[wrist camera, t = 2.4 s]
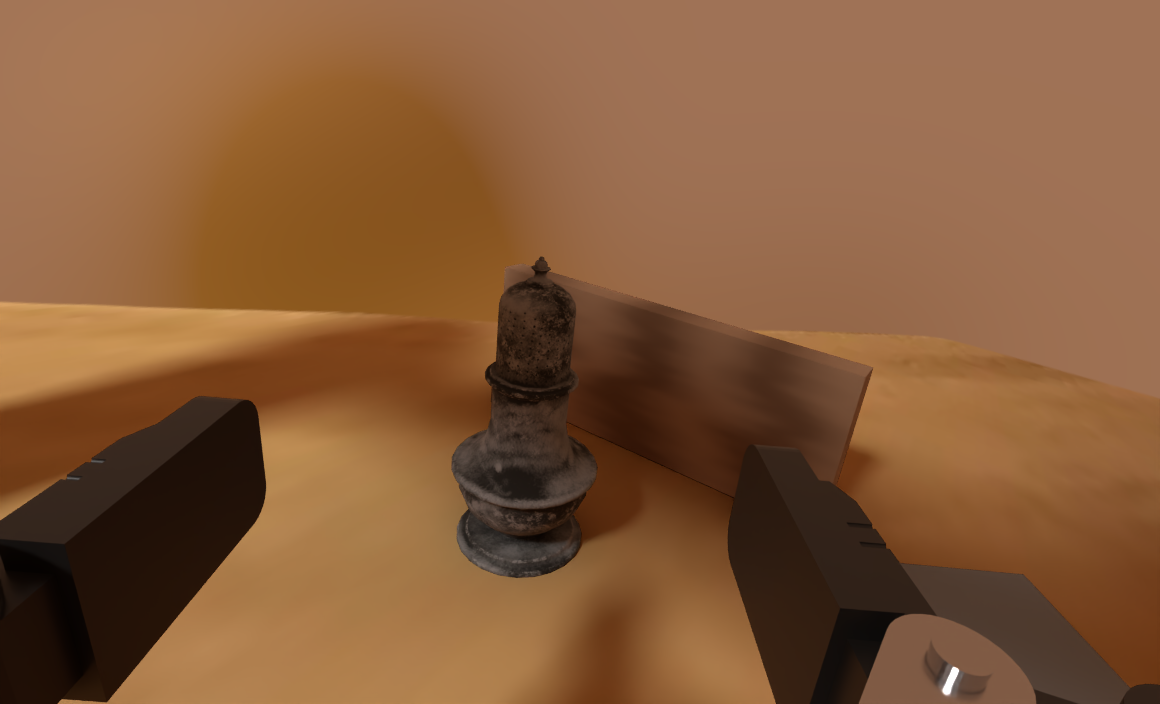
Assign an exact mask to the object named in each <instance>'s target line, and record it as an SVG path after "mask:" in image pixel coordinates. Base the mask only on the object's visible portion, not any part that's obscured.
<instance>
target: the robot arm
mask: <svg viewBox="0 0 1160 704" xmlns="http://www.w3.org/2000/svg"><path fill="white" fill-rule="evenodd" d="M265 494H266V479H265V470H264V461H263V453H262V444H261V435H260V427H259V418H258V412H257V409H256V407H255V405H254V404H253V403H252V402H251V401H249V400H241V399H230V398H218V397H206V396H198V397H195V398H194V399H192V400H190V401H189V402H188V403H186V404H185V405H183V406H182V407H181V408H179V409H178V410H176V411H175V412H173V413H172V414H171V415H169V416H168V417H166V418H165V419H164V420H162V421H161V422H159V423H158V424H155V425H153V426H150V427H148V428H145V429H143V430H141V431H138V432H136V433H133V434H131V435H128V436H126V437H123V438H121V439H119V440H118V441H116V442H115V443H113V444H112V445H110V446H109V447H108V448H106V449H105V450H103V451H102V452H100V453H99V454H97V455H96V456H94V457H93V458H92V461H91V463H88V462H86V463H84V464H83V465H81V466H80V467H78V468H77V469H75V470H74V471H72V472H71V473H69V474H68V475H67V479H66V480H62V479H61V480H59V481H58V482H56V483H55V484H53V485H52V486H50V487H49V488H47V489H46V490H44V491H43V492H42V493H40V494H39V495H37V496H36V497H34V498H33V499H31V500H30V501H28V502H27V503H25V504H24V505H22V506H21V507H20V508H18V509H17V510H15V511H14V512H12V513H11V514H9V515H8V516H6V517H5V518H3V519H2V520H0V704H58V702H59V701H60V700H61V699H68V700H82V701H96V702H107V701H108V700H109V699H110V698H111V697H112V695H113V694H114V693H115V692H116V691H117V689H118V688H119V687H120V686H121V684H122V683H123V682H124V681H125V680H126V678H127V677H128V676H129V675H130V674H131V672H132V671H133V670H134V669H135V668H136V666H137V665H138V664H139V663H140V661H141V660H142V659H143V658H144V657H145V655H146V654H147V653H148V652H149V651H150V649H151V648H152V647H153V646H154V644H155V643H156V642H157V641H158V640H159V638H160V637H161V636H162V635H163V634H164V632H165V631H166V630H167V629H168V628H169V626H170V625H171V624H172V623H173V621H174V620H175V619H176V618H177V617H178V615H179V614H180V613H181V612H182V611H183V609H184V608H185V607H186V606H187V604H188V603H189V602H190V601H191V600H192V598H193V597H194V596H195V595H196V594H197V592H198V591H199V590H200V589H201V588H202V586H203V585H204V584H205V583H206V581H207V580H208V579H209V578H210V577H211V575H212V574H213V573H214V572H215V571H216V569H217V568H218V567H219V566H220V564H221V563H222V562H223V561H224V560H225V558H226V557H227V556H228V555H229V554H230V552H231V551H232V550H233V549H234V547H235V546H236V545H237V544H238V543H239V541H240V540H241V539H242V538H243V537H244V535H245V534H246V533H247V532H248V531H249V529H250V528H251V527H252V526H253V524H254V523H255V522H256V520H257V518H258V517H259V515H260V512H261V510H262V507H263V504H264V500H265ZM728 553H729V559H730V563H731V567H732V570H733V573H734V576H735V579H736V582H737V585H738V588H739V591H740V594H741V597H742V600H743V603H744V606H745V609H746V613H747V616H748V619H749V622H750V625H751V628H752V631H753V634H754V637H755V640H756V643H757V646H758V649H759V652H760V656H761V659H762V662H763V665H764V668H765V671H766V674H767V677H768V680H769V683H770V686H771V689H772V692H773V695H774V698H775V702H776V704H1078V703H1075V702H1072V701H1069V700H1066V699H1063V698H1060V697H1056V696H1053V695H1050V694H1047V693H1044V692H1041V691H1038V690H1035V689H1033V687H1032V685H1031V683H1030V681H1029V680H1028V678H1027V676H1026V675H1025V674H1024V672H1023V671H1022V670H1021V668H1020V667H1019V666H1018V665H1017V664H1016V663H1015V662H1014V660H1013V659H1012V658H1011V657H1010V656H1009V655H1007V654H1006V653H1005V652H1004V651H1003V650H1002V649H1001V648H999V647H998V646H997V645H995V644H994V643H993V642H991V641H990V640H988V639H987V638H985V637H984V636H982V635H980V634H979V633H977V632H975V631H973V630H971V629H969V628H968V627H966V626H963V625H961V624H959V623H956V622H954V621H951V620H948V619H945V618H942V617H938V616H937V615H936V614H935V612H934V611H933V609H932V608H931V606H930V605H929V604H928V602H927V601H926V599H925V598H924V597H923V595H922V594H921V592H920V591H919V590H918V588H917V587H916V585H915V584H914V583H913V581H912V580H911V578H910V577H909V575H908V574H907V573H906V571H905V570H904V568H903V567H902V566H901V564H900V563H899V561H898V560H897V559H896V557H895V556H894V554H893V553H892V551H891V550H890V549H886V543H885V542H884V540H883V539H882V537H881V536H880V535H879V533H878V532H877V530H876V529H872V523H871V522H870V520H869V519H868V518H867V516H866V515H865V513H864V512H863V511H862V509H861V508H860V506H859V505H858V504H857V502H856V501H855V500H853V499H852V498H851V497H850V496H848V495H847V494H846V493H844V492H843V491H842V490H840V489H839V488H838V487H837V486H835V485H834V484H833V483H831V482H830V481H821V480H819V479H818V478H817V476H816V475H815V473H814V472H813V470H812V469H811V467H810V465H809V464H808V462H807V461H806V459H805V458H804V456H803V455H802V453H801V452H800V450H798V449H797V448H789V447H778V446H766V445H754V444H751V445H749V446H748V448H747V449H746V451H745V454H744V457H743V461H742V466H741V471H740V475H739V480H738V484H737V489H736V493H735V498H734V503H733V507H732V512H731V516H730V521H729V527H728ZM1120 704H1160V685H1155V684H1143V685H1137V686H1134V687H1132V688H1130V689H1129V690H1128V691H1127V692H1126V694H1125V695H1124V697H1123V699H1122V700H1121V702H1120Z"/></svg>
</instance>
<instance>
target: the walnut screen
mask: <svg viewBox="0 0 1160 704" xmlns="http://www.w3.org/2000/svg"><path fill="white" fill-rule="evenodd" d="M531 267H532V266H529V265H525V264H518V265H513V266H508V267H505V279H504V292H505V291H506V290H507V289H508V287H510V286H512V285H514V284H516V283H518V282H521V281H526V280H527V279H528V278H530V277H534V274H535V271H534V270H533V269H532V268H531ZM546 275H547V278H548V279H551V280H552V281H553V283H554V284H557V285H559V286H561V287H562V288H564V289H565V290H566V291H567V292H569V293H570V295H571V296H572V298H573V300H574V302H575V305H576V318H575V327H574V337H573V346H572V355H571V365H570V368H571V369H572V370H573V371H574V372H575V373H576V374H577V376H578V378H579V383H578V387H577V388H576V389H575V390H574V391H573V392H571V393H570V394H569V402H568V412H567V421H566V422H568V423H571V424H573V425H575V426H577V427H579V428H582V429H584V430H586V431H588V432H590V433H593V434H595V435H597V436H599V437H601V438H604V439H606V440H608V441H610V442H612V443H615V444H617V445H619V446H621V447H623V448H626V449H628V450H630V451H632V452H634V453H637V454H639V455H641V456H643V457H646V458H648V459H650V460H652V461H654V462H657V463H659V464H661V465H663V466H665V467H668V468H670V469H672V470H674V471H676V472H679V473H681V474H683V475H685V476H687V477H690V478H692V479H694V480H696V481H698V482H701V483H703V484H705V485H707V486H709V487H712V488H714V489H716V490H718V491H720V492H723V493H725V494H727V495H729V496H731V497H734V498H735V493H736V489H737V484H738V480H739V475H740V471H741V466H742V461H743V457H744V454H745V451H746V449H747V448H748V446H749V445H751V444H754V445H766V446H778V447H789V448H797V449H798V450H800V452H801V453H802V455H803V456H804V458H805V459H806V461H807V462H808V464H809V465H810V467H811V469H812V470H813V472H814V473H815V475H816V476H817V478H818V479H819V480H821V481H830V482H831V483H833V484H834V485H835V486H836V485H837V482H838V479H839V476H840V473H841V469H842V466H843V463H844V460H845V457H846V453H847V450H848V447H849V444H850V441H851V437H852V434H853V431H854V428H855V425H856V421H857V418H858V415H859V412H860V409H861V405H862V402H863V399H864V396H865V393H866V390H867V386H868V383H869V380H870V377H871V374H872V370H873V367H870V366H867V365H863V364H860V363H857V362H853V361H850V360H847V359H843V358H840V357H836V356H833V355H830V354H826V353H823V352H819V351H816V350H813V349H809V348H806V347H803V346H799V345H796V344H792V343H789V342H786V341H782V340H779V339H775V338H772V337H769V336H765V335H762V334H759V333H755V332H752V331H748V330H745V329H742V328H738V327H735V326H732V325H728V324H724V323H721V322H718V321H715V320H711V319H707V318H704V317H701V316H698V315H694V314H691V313H687V312H684V311H681V310H677V309H674V308H671V307H667V306H664V305H660V304H657V303H654V302H650V301H647V300H644V299H640V298H637V297H633V296H630V295H627V294H623V293H620V292H616V291H613V290H609V289H606V288H603V287H600V286H596V285H593V284H589V283H586V282H583V281H579V280H575V279H573V278H569V277H566V276H562V275H559V274H555V273H552V272H549V271H548V272H547V274H546ZM491 402H492V394H491Z"/></svg>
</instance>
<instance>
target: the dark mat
mask: <svg viewBox="0 0 1160 704" xmlns="http://www.w3.org/2000/svg"><path fill="white" fill-rule="evenodd" d="M900 564H901V566H902V567H903V568H904V570H905V571H906V573H907V574H908V575H909V577H910V578H911V580H912V581H913V583H914V584H915V585H916V587H917V588H918V590H919V591H920V592H921V594H922V595H923V597H924V598H925V599H926V601H927V602H928V604H929V605H930V606H931V608H932V609H933V611H934V612H935V614H936V615H937V616H938V617H942V618H945V619H948V620H951V621H954V622H956V623H959V624H961V625H963V626H966V627H968V628H969V629H971V630H973V631H975V632H977V633H979V634H980V635H982V636H984V637H985V638H987V639H988V640H990V641H991V642H993V643H994V644H995V645H997V646H998V647H999V648H1001V649H1002V650H1003V651H1004V652H1005V653H1006V654H1007V655H1009V656H1010V657H1011V658H1012V659H1013V660H1014V662H1015V663H1016V664H1017V665H1018V666H1019V667H1020V668H1021V670H1022V671H1023V672H1024V674H1025V675H1026V676H1027V678H1028V680H1029V681H1030V683H1031V685H1032V687H1033V689H1035V690H1038V691H1041V692H1044V693H1047V694H1050V695H1053V696H1056V697H1060V698H1063V699H1066V700H1069V701H1072V702H1075V703H1078V704H1120V702H1121V700H1122V699H1123V697H1124V695H1125V694H1126V692H1127V691H1128V690H1129V689H1130V687H1129V686H1128V685H1127V684H1126V683H1125V682H1124V681H1123V680H1122V679H1121V678H1120V677H1119V676H1118V674H1117V673H1116V672H1115V671H1114V670H1113V669H1112V668H1111V667H1110V666H1109V665H1108V664H1107V663H1106V662H1105V661H1104V660H1103V659H1102V657H1101V656H1100V655H1099V654H1098V653H1097V652H1096V651H1095V650H1094V649H1093V648H1092V647H1091V646H1090V645H1089V644H1088V643H1087V642H1086V640H1085V639H1084V638H1083V637H1082V636H1081V635H1080V634H1079V633H1078V632H1077V631H1076V630H1075V629H1074V628H1073V627H1072V626H1071V625H1070V623H1069V622H1068V621H1067V620H1066V619H1065V618H1064V617H1063V616H1062V615H1061V614H1060V613H1059V612H1058V611H1057V610H1056V609H1055V608H1054V606H1053V605H1052V604H1051V603H1050V602H1049V601H1048V600H1047V599H1046V598H1045V597H1044V596H1043V595H1042V594H1041V593H1040V592H1039V590H1038V589H1037V588H1036V587H1035V586H1034V585H1033V584H1032V583H1031V582H1030V581H1029V580H1028V579H1027V578H1026V577H1025V576H1024V575H1023V574H1013V573H1002V572H991V571H980V570H969V569H958V568H948V567H937V566H926V565H915V564H904V563H900Z"/></svg>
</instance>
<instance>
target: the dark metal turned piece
mask: <svg viewBox="0 0 1160 704" xmlns="http://www.w3.org/2000/svg"><path fill="white" fill-rule="evenodd" d="M547 266H548V264H547V262H546V261H544V257H540V258H539V260H537V261H536V263H535V265H534V266H532V267H531V268H532V269H533V270H534V271H535V274H534V277H530V278H528V279H527V280H526V281H521V282H518V283H516V284H514V285H512V286H510V287H508V289H507V290H506V291H505V292H504V293H503V295H502V296H501V299H500V303H499V316H498V334H497V352H496V362H494V363H492V364H491V365H490V366H488V368H487V369H486V371H485V379H486V380H487V382H488V383H489V385H490V386H492V406H491V419H490V422H489V426H488V429H487V430H484V431H480V432H478V433H476V434H474V435H472V436H471V437H469V438H467V439H466V440H465V441H464V442H463V443H461V444H460V445H459V446H458V447H457V449H456V450H455V452H454V454H453V456H452V469H451V470H452V472H453V474H454V477H455V479H456V481H457V482H458V483H459V488H460V490H461V492H462V495H463V497H464V499H465V501H466V504H467V506H468V508H469V509H468V510H467V511H466V512H465V513H464V515H463V516H462V517H461V519H460V521H459V524H458V526H457V542H458V544H459V547H460V549H461V551H462V553H463V554H464V555H465V556H466V557H467V558H468V559H469V561H471V562H472V563H474V564H475V565H477V566H478V567H480V568H481V569H483V570H486V571H489V572H492V573H494V574H497V575H502V576H509V577H515V578H518V577H535V576H539V575H543V574H547V573H551V572H553V571H555V570H557V569H559V568H561V567H563V566H564V565H566V564H567V563H568V562H569V561H570V560H571V559H572V558H573V557H574V556H575V554H576V552H577V551H578V549H579V547H580V541H581V530H580V526H579V523H578V522H577V520H576V519H575V517H574V516H573V514H574V513H575V511H576V510H577V508H578V507H579V505H580V504H581V502H582V500H583V499H584V497H585V496H586V491H588V490H589V489H590V488H591V486H592V484H593V483H594V481H595V480H596V474H597V464H596V461H595V458H594V456H593V455H592V454H591V452H590V451H589V450H588V449H587V448H586V446H585V445H583V444H582V443H580V442H579V441H578V440H576V439H575V438H573V437H571V436H569V435H568V434H567V426H566V421H567V412H568V402H569V394H570V393H571V392H573V391H574V390H575V389H576V388H577V387H578V383H579V378H578V376H577V374H576V373H575V372H574V371H573V370H572V369H571V368H570V365H571V355H572V346H573V337H574V327H575V318H576V305H575V302H574V300H573V298H572V296H571V295H570V293H569V292H567V291H566V290H565V289H564V288H562V287H561V286H559V285H557V284H554V283H553V281H552V280H551V279H548V278H547V275H546V274H547V272H548V271H549V270H551V269H550V267H547Z"/></svg>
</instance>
